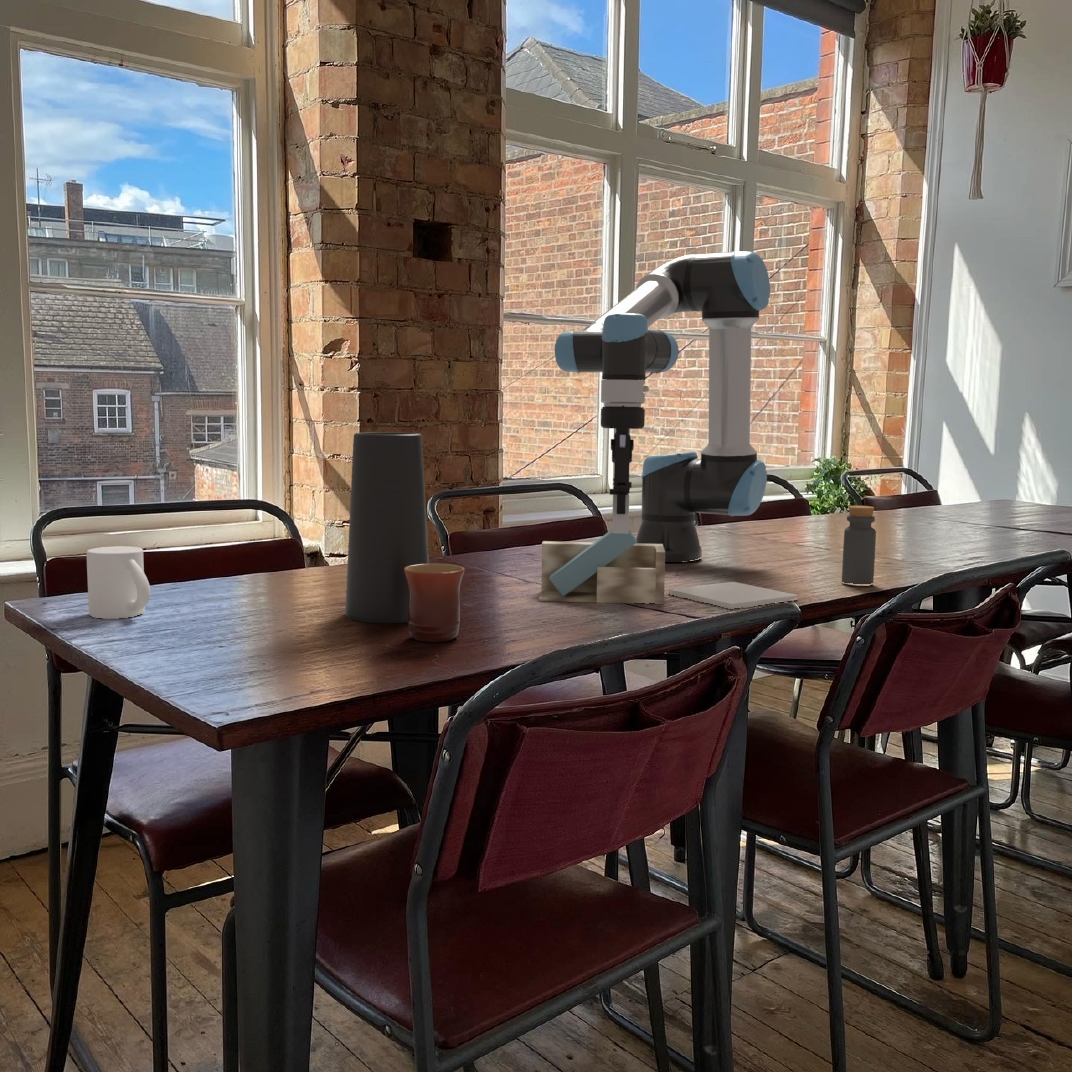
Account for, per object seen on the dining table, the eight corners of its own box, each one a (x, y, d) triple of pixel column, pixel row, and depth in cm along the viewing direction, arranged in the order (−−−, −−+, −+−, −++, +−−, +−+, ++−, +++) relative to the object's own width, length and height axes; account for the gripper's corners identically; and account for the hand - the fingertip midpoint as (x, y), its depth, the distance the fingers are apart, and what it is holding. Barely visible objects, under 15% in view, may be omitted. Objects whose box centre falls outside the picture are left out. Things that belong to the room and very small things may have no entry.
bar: (563, 596, 188) (549, 578, 188) (564, 592, 192) (550, 574, 192) (637, 542, 186) (623, 523, 186) (636, 539, 190) (622, 521, 190)
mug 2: (464, 644, 153) (465, 573, 152) (402, 645, 152) (402, 573, 151) (463, 626, 165) (463, 560, 163) (405, 627, 164) (405, 560, 163)
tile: (668, 594, 194) (668, 589, 194) (733, 586, 203) (733, 581, 203) (731, 609, 181) (731, 603, 181) (797, 600, 190) (797, 595, 189)
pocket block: (538, 601, 186) (539, 549, 185) (542, 590, 197) (543, 541, 195) (663, 604, 185) (665, 552, 184) (661, 593, 195) (662, 543, 194)
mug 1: (123, 544, 175) (168, 551, 168) (125, 607, 176) (170, 616, 169) (75, 549, 168) (120, 557, 161) (78, 615, 170) (122, 625, 163)
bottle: (873, 583, 209) (877, 506, 207) (872, 588, 204) (876, 508, 202) (842, 581, 211) (846, 504, 209) (840, 585, 205) (844, 507, 204)
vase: (446, 611, 176) (447, 433, 173) (402, 627, 164) (401, 435, 160) (376, 603, 182) (375, 431, 178) (328, 618, 170) (325, 433, 166)
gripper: (647, 406, 173) (643, 538, 176) (643, 405, 197) (639, 521, 200) (600, 405, 173) (597, 537, 176) (601, 404, 198) (599, 520, 201)
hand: (620, 528), depth 188 cm, fingers open, 13 cm apart
